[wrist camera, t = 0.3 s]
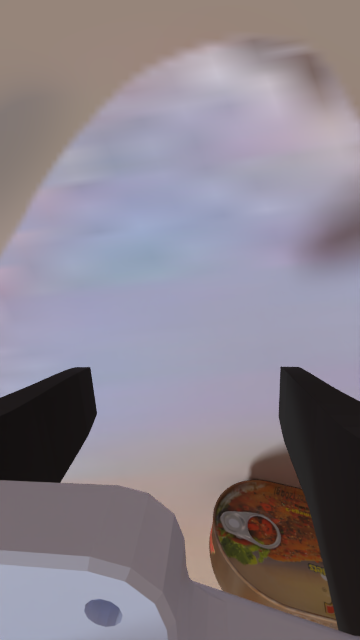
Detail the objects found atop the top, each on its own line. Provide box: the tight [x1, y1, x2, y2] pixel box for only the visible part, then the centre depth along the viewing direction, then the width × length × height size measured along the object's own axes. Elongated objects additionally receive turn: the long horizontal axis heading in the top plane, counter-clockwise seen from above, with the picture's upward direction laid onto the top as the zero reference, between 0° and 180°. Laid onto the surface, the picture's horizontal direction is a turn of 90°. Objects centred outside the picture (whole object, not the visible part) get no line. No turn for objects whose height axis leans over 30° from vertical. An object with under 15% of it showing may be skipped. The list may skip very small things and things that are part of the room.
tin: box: [209, 480, 339, 631], centre depth 19 cm, size 15×3×8 cm, turn 80°
